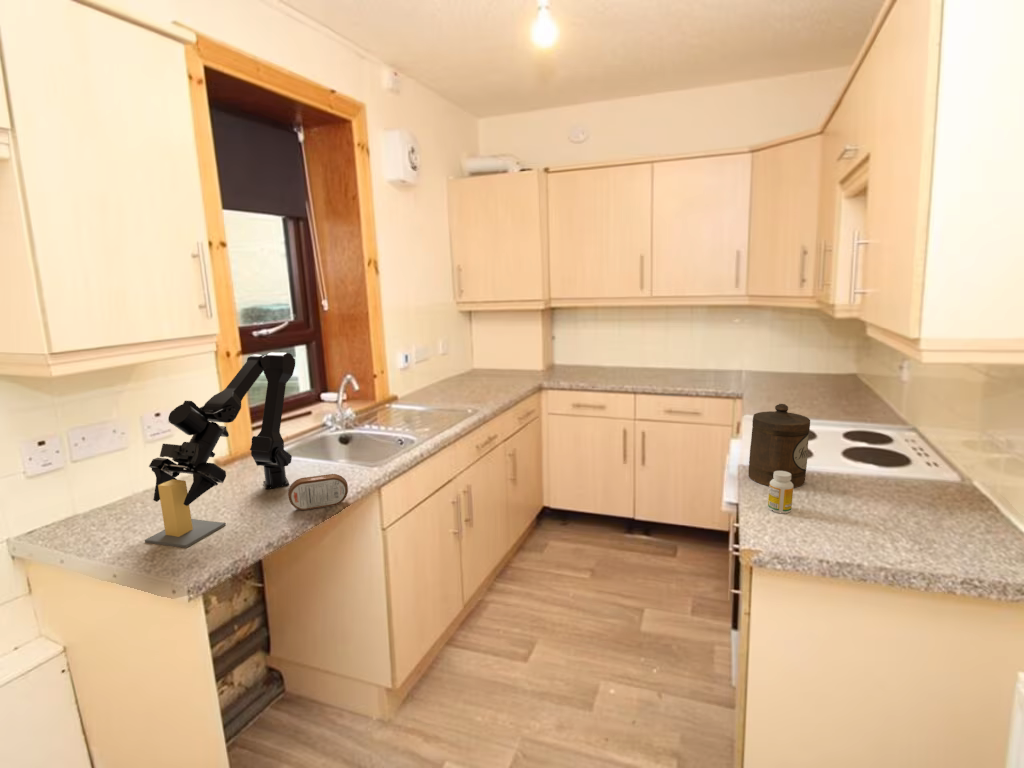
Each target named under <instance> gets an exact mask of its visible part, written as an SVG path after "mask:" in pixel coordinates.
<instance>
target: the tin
mask: <svg viewBox="0 0 1024 768" xmlns="http://www.w3.org/2000/svg"><path fill="white" fill-rule="evenodd" d="M348 494H349V486H348V482H347V480H346V479H345V478H344V477H343V476H342V475H341V474H340V475H339V474H338V473H337V474H336V473H330V474H329V473H327V474H322V475H316V476H315V475H313V476H306V477H300V478H298V479H296V480H294V481H293V482H291V485H290V486H289V488H288V493H287V495H288V500H289V504H290V505H292V507H294V508H295V509H296V510H301V511H307V510H314V509H319V508H328V507H333V506H337V505H339V504H342V502H344V501H345V500H346V498H347V496H348Z"/></svg>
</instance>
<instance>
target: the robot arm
mask: <svg viewBox="0 0 1024 768" xmlns="http://www.w3.org/2000/svg"><path fill="white" fill-rule="evenodd" d="M295 367H296V359H295V358H294V356H293V355H292V354H291V353H289V352H269V353H267V354H266V355H265V354H251V355H249V356H248V357H247V359H246V362H245V363H244V365H242V367H241V368H240V369H239V370H238V372H237V373H236V375H235V376H234V377H233V378H232V380H231V381H230V382H229V383H228V385H227V386H225V388H224V389H222V391H219V392H217V393H216V394H214V395H213V396H211V397H210V398H209V399H208V400H207V401H206V402H205V403H204V405H202V406H200V407H199V406H197V404H196V403H195V402H194V401H193V400H184V402H183V403H182V404H179V405H178V406H176V407H175V408H173V409H172V410H171V411H170V413H169V415H168V422H169V423H170V424H171V425H172V426H174V427H175V428H177V429H178V430H180V431H181V432H182V433H184V434H185V435H188V436H191V438H190V440H189V441H183V442H182V443H181V444H171V443H162V445H161V449H160V452H159V453H160V454H159V457H155V458H152V460H151V462H150V463H149V465H148V467H149V468H150V469H151V472H152V473H154V475H155V478H156V479H155V487H154V494H153V499H152V500H153V501H154V502H155V503H156V502H160V495H159V489H158V485H160V484H162V483H165V482H167V481H170V480H172V479H175V480H178V479H177V477H178V476H180V474H187V475H192V479H193V480H192V484H191V486H190V488H189V489H188V491H187V493H188V494H187V496H186V498H185V501H184V505H186V506H188V505H189V506H190V504H192V503H193V502H194V501H196V500H197V499H198V498H200V497H201V496H202V495H203V494H205V493H206V492H208V491H209V490H210V489H212V488H213V487H215V486H218V485H219V484H220V483H221V484H223V483H224V482H225V479H226V478H227V473H226V472H227V470H225V469H223V468H221V467H220V466H218V464H216V463H213V462H208V460H210V458H215V455H216V453H215V452H213V451H214V449H215V447H216V446H217V443H218V442H219V441H220V438H221V437H225V438H228V437H229V436H230V435H229V432H228V430H227V426H224V425H220V424H218V423H224V424H225V423H227V424H229V423H232V422H234V421H235V420H236V418H237V417H238V415H239V413H240V411H241V409H242V400H243V399H244V397H245V396H246V395H247V393H248V392H249V391H250V389H251V388H252V386H253V385H254V384H255V383H256V382H257V380H258V379H259V377H260V376H261V375H262V373H263V374H264V376H265V379H266V381H267V384H266V385H267V386H266V390H265V391H266V393H265V399H264V408H263V414H262V423H261V429H260V431H259V432H258V434H257V435H254V436H252V438H251V444H250V448H249V450H250V454H251V458H253V460H254V463H255V464H256V466H261V467H263V472H264V480H263V482H262V483H263V486H264V489H265V490H269V489H275V488H281V487H285V486H289V485H290V482H289V480H288V478H287V474H286V473H287V472H286V467H288V466H289V465H290V464H291V463H292V458H293V457H292V455H291V454H290V453H289V452H288V451H286V450H285V442H284V439H283V436H282V434H281V425H282V417H283V409H284V401H285V394H286V393H285V392H286V385H287V383H288V382H289V381H290V379H291V377H293V376H294V371H295V369H296V368H295ZM165 457H166V458H165ZM169 458H170V459H169Z"/></svg>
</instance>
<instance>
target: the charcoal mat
mask: <svg viewBox="0 0 1024 768" xmlns="http://www.w3.org/2000/svg"><path fill="white" fill-rule="evenodd" d="M191 520H192V527H193V530H191V531H189V532H187V533H185V534H183V535H181V536H179V537H177V536H170V535H166V533H165V529H163V530H161V531H159V532H156V533H155V534H153V535H151V536H150V537H148V538H146V539H145V538H144V542H145V543H147V544H148V543H149V544H154V545H155V544H156V545H163V546H170V547H177V548H184V549H186V548H189V547H190V546H192V545H194V544H195V543H197V542H199V541H200V540H203V539H205V538H206V537H208V536H209V535H211V534H213V533H215V532H216V531H219V529H222V528H223V527H225V526H226V522H220V521H211V520H205V519H195V518H191Z"/></svg>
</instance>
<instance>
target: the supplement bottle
mask: <svg viewBox="0 0 1024 768" xmlns="http://www.w3.org/2000/svg"><path fill="white" fill-rule="evenodd" d="M773 478H774V479H772V480H771V481H770V485H769V488H768V498H767V499H768V500H767V509H768V510H769V509H770V510H769V511H771V510H773V511H775V512H774V513H776V512H781V513H785V514H789V513H790V512H792V509H793V508H792V507H793V506H792V505H793V496H794V495H793V494H794V487H793V483H792V482H791V481H790V480H791V473H789V472H786V471H775V472H774V474H773ZM773 511H772V512H773ZM788 512H789V513H788ZM781 513H780V514H781Z"/></svg>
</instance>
